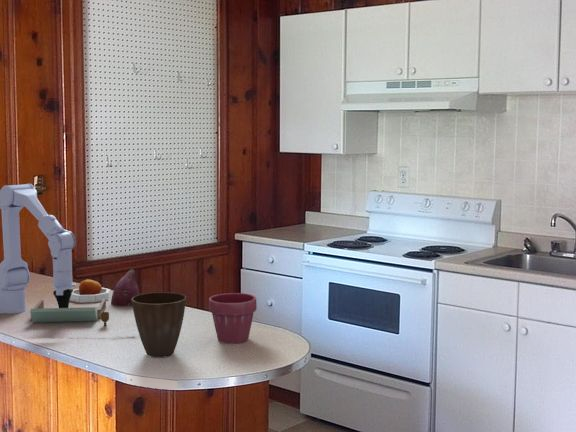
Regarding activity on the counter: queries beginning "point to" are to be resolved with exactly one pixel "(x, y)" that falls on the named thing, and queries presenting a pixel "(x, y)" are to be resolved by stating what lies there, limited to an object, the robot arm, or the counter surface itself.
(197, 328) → the counter surface
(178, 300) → the plant pot
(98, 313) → the tan lipped tray
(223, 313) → the plant pot
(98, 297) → the fruit dish
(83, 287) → the fruit
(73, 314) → the panel
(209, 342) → the counter surface
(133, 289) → the vegetable
